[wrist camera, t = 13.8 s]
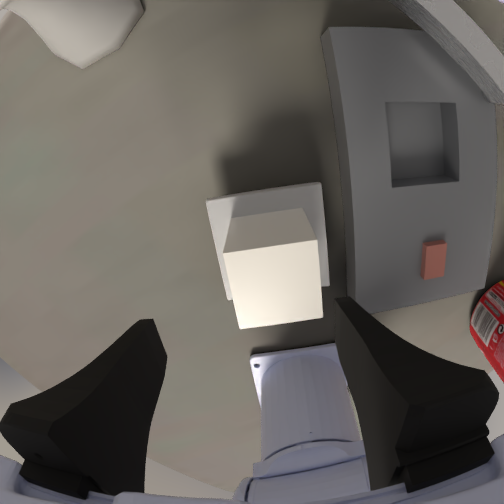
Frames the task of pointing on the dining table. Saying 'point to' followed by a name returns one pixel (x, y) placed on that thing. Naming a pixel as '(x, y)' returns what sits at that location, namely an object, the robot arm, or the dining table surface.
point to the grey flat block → (410, 167)
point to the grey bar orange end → (460, 42)
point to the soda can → (490, 326)
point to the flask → (79, 25)
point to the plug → (272, 252)
